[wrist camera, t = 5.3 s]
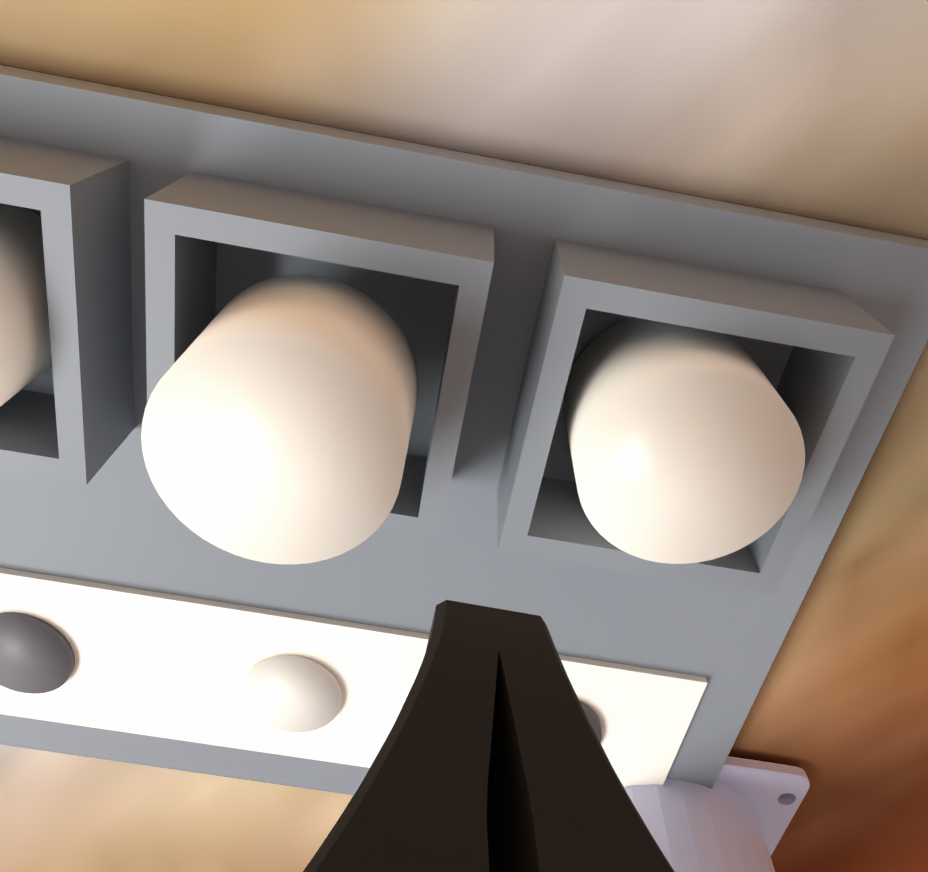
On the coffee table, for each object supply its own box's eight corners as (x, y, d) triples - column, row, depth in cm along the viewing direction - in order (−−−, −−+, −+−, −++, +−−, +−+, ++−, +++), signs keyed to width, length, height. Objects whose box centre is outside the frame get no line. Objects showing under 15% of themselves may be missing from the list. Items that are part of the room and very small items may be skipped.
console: (679, 813, 25) (704, 923, 22) (-117, 697, 24) (-206, 798, 21) (942, 243, 16) (1043, 296, 13) (-276, 12, 15) (-467, 14, 12)
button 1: (719, 494, 18) (758, 578, 15) (544, 465, 18) (554, 545, 15) (784, 328, 16) (841, 392, 13) (589, 293, 16) (608, 351, 13)
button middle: (402, 486, 16) (385, 581, 13) (201, 453, 16) (142, 543, 13) (433, 296, 14) (420, 363, 12) (205, 255, 14) (139, 314, 11)
